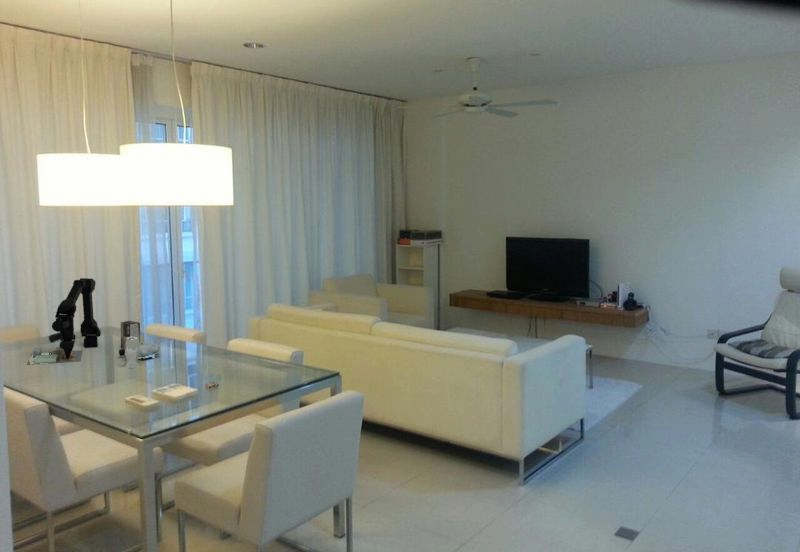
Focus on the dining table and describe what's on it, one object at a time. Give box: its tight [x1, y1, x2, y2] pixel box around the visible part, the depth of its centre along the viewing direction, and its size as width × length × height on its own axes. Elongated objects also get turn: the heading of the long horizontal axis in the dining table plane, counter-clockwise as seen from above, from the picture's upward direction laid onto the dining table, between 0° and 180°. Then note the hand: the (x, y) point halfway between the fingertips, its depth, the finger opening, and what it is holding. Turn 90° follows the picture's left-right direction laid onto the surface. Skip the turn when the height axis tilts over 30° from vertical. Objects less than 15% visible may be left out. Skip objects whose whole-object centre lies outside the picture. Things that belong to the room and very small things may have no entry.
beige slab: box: [51, 346, 64, 356], centre depth 327 cm, size 8×8×3 cm
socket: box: [60, 355, 76, 362], centre depth 318 cm, size 7×7×1 cm
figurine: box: [118, 342, 161, 359], centre depth 328 cm, size 17×8×20 cm
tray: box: [34, 354, 58, 365], centre depth 313 cm, size 10×10×2 cm
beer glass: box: [125, 337, 140, 365], centre depth 310 cm, size 7×7×15 cm
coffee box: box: [120, 320, 141, 350], centre depth 340 cm, size 9×6×16 cm
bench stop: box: [32, 346, 42, 358], centre depth 322 cm, size 3×9×4 cm, turn 25°
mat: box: [26, 349, 84, 366], centre depth 321 cm, size 24×24×1 cm
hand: (68, 356), depth 318 cm, fingers open, 7 cm apart
